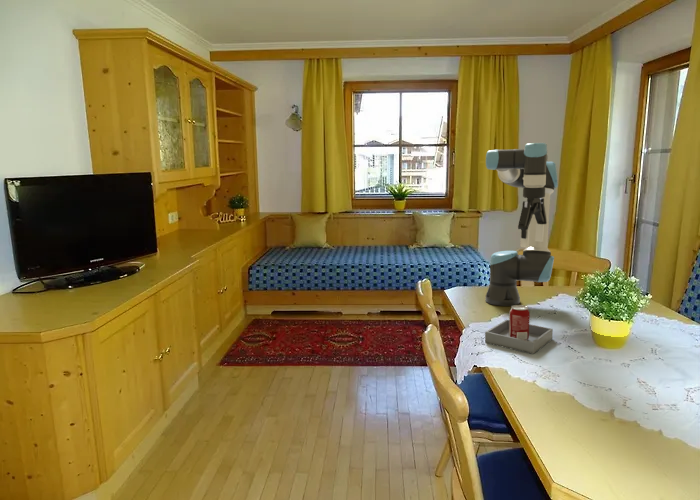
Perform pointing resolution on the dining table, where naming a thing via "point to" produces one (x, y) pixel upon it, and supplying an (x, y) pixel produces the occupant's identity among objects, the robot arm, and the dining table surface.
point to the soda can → (519, 322)
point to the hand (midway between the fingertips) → (532, 244)
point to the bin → (533, 344)
